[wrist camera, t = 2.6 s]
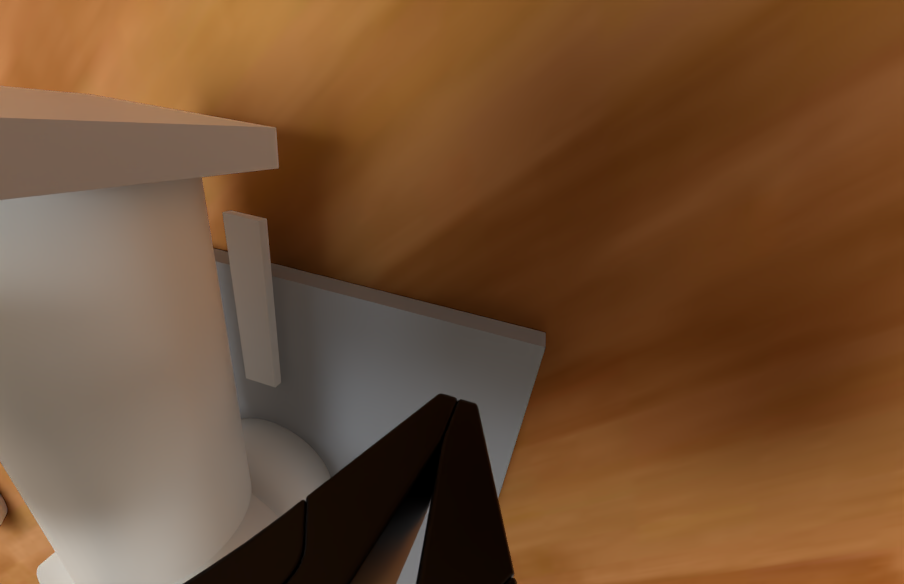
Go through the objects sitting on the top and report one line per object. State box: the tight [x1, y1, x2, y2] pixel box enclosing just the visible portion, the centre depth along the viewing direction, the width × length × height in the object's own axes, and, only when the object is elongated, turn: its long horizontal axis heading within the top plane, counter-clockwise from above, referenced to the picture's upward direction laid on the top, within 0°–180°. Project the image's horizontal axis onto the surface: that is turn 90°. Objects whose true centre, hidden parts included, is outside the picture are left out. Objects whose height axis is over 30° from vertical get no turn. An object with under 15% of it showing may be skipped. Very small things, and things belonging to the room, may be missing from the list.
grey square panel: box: [213, 210, 546, 584], centre depth 14 cm, size 20×20×3 cm
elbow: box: [0, 86, 279, 584], centre depth 9 cm, size 17×6×5 cm, turn 172°
